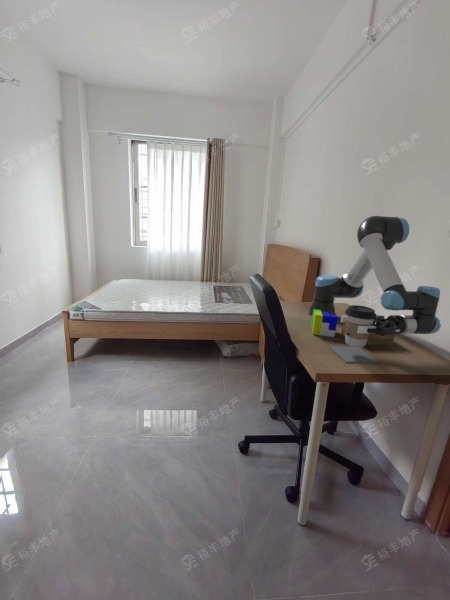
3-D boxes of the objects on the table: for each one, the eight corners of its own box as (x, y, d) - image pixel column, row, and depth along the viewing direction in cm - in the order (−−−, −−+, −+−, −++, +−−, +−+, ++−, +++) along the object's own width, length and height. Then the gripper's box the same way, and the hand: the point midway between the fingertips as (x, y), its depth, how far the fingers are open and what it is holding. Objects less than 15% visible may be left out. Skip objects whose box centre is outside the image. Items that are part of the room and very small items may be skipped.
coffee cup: (335, 337, 116) (341, 303, 113) (362, 339, 116) (369, 305, 112) (346, 349, 105) (353, 311, 102) (376, 350, 105) (383, 313, 101)
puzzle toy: (334, 337, 131) (337, 317, 128) (312, 334, 132) (315, 314, 130) (330, 329, 140) (334, 311, 138) (310, 327, 142) (313, 309, 139)
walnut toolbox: (340, 333, 135) (344, 311, 132) (375, 333, 138) (379, 311, 135) (355, 344, 123) (360, 320, 120) (393, 344, 125) (399, 320, 122)
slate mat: (329, 348, 118) (329, 346, 118) (357, 348, 120) (357, 346, 119) (345, 362, 105) (346, 361, 105) (376, 362, 107) (377, 361, 107)
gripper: (421, 345, 101) (366, 345, 98) (379, 323, 123) (333, 322, 120) (426, 326, 99) (370, 325, 96) (382, 307, 121) (335, 306, 118)
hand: (349, 324), depth 108 cm, fingers closed on coffee cup, 11 cm apart
